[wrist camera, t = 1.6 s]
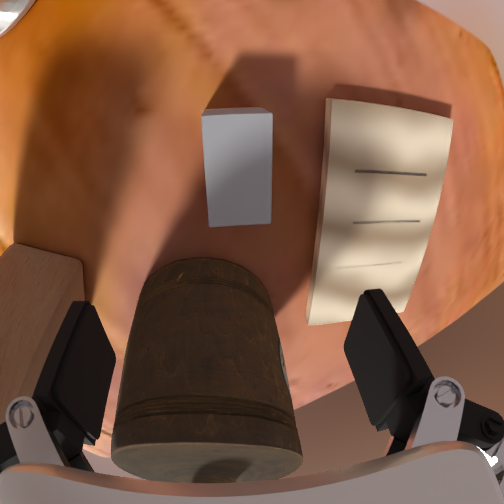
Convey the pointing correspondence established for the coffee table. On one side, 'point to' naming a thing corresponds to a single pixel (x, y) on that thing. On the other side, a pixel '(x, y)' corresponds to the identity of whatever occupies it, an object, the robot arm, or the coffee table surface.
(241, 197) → the block
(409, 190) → the board
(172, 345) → the wooden container
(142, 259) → the coffee table surface
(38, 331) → the wooden block
